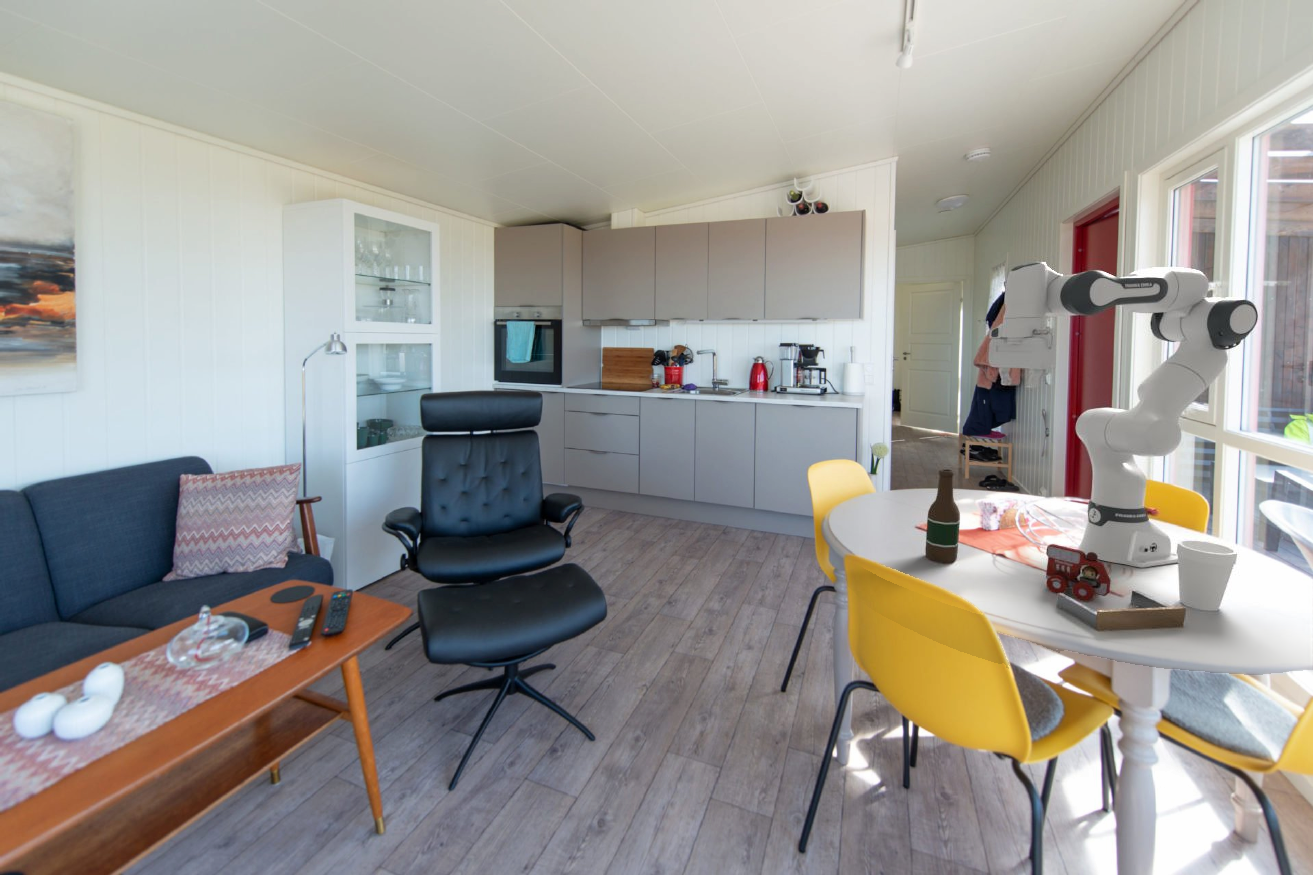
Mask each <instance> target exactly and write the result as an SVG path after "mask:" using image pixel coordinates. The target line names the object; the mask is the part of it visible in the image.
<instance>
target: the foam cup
mask: <svg viewBox="0 0 1313 875" xmlns="http://www.w3.org/2000/svg"><path fill="white" fill-rule="evenodd" d="M1176 554H1177V555H1178V562H1177V568H1178V569H1177V571H1178V572H1177V573H1178V590H1179V591H1178V592H1179V602H1180V603H1181V604H1183V605H1185V606H1187V607H1189V608H1192V609H1196V610H1202V611H1207V612H1208V611H1209V612H1215V611H1218V610H1219V608H1220V607H1221V603H1222V601H1223V598H1224V595H1225V592H1226V589H1227V586H1228V583H1229V580H1230V577H1231V575H1232V572H1233V568H1234V566H1236V563H1237V559H1238V550H1236V549H1235V548H1234V547H1232V546H1231V547H1230V546H1227V545H1225V544H1221V543H1216V542H1213V541H1207V540H1197V539H1183V540H1178V542H1177V546H1176Z"/></svg>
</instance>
